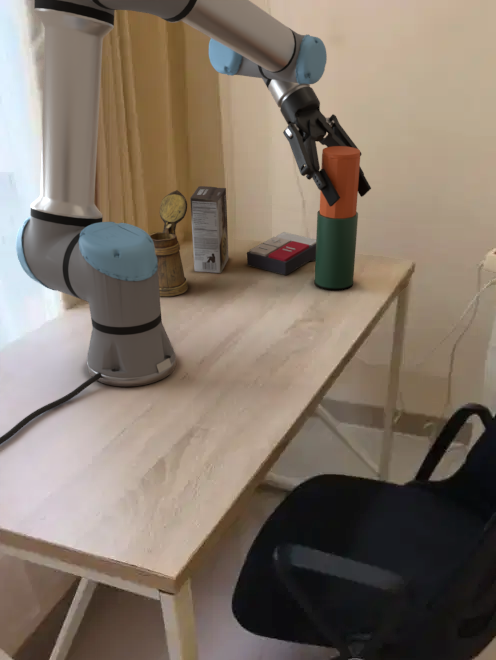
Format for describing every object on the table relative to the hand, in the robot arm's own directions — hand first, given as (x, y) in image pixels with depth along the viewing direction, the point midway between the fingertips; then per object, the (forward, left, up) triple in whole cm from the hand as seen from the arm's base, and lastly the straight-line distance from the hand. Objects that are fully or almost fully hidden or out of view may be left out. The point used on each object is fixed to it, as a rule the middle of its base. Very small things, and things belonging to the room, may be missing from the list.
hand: (350, 197), depth 150 cm
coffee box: (-19, +26, -19) cm, 37 cm away
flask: (-1, +3, -19) cm, 19 cm away
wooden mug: (-32, +20, -19) cm, 42 cm away
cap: (-1, +3, -4) cm, 5 cm away
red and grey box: (-3, +20, -19) cm, 28 cm away
